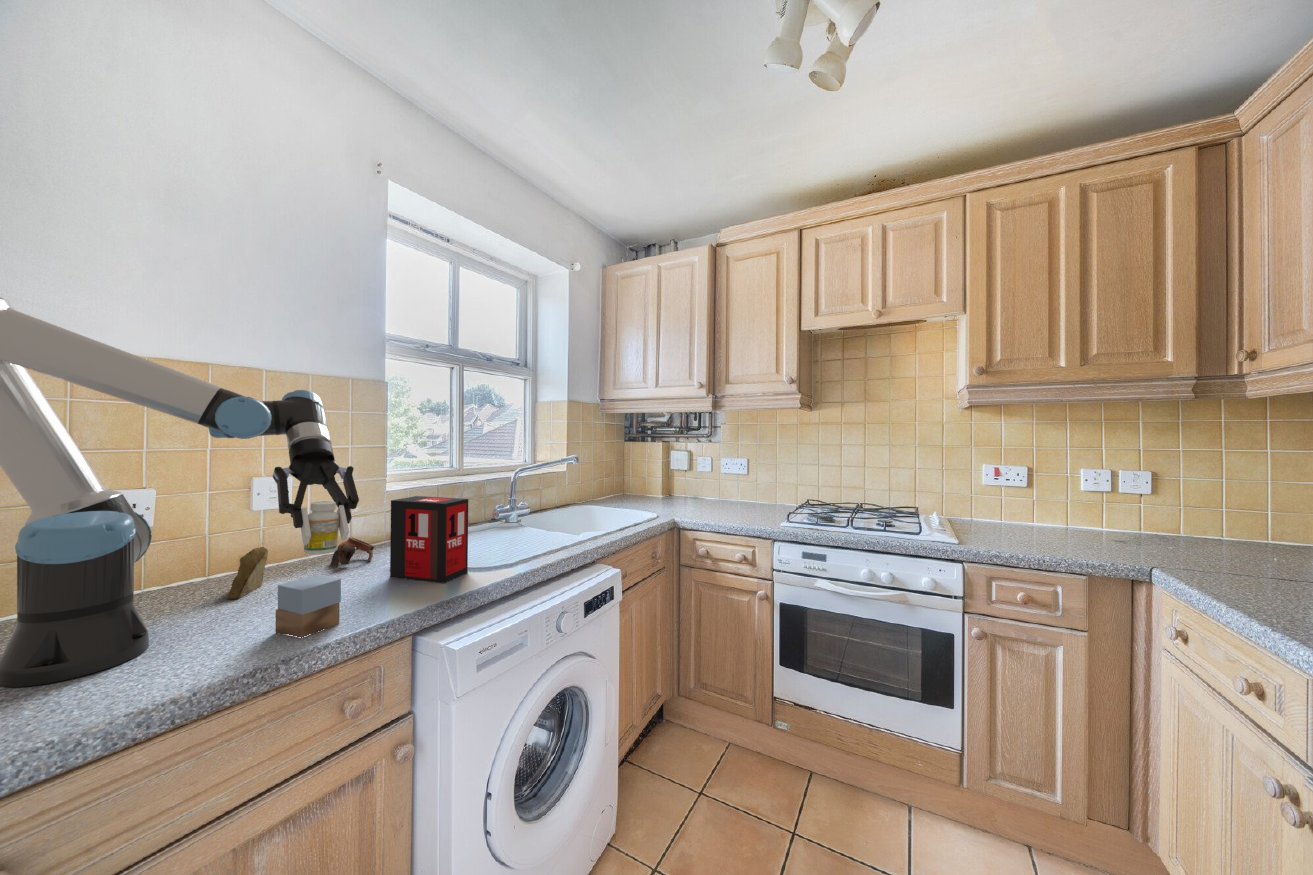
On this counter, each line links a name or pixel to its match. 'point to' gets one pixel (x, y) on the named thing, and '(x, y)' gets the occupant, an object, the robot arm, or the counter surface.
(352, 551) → the pottery mug
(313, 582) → the slate-blue block
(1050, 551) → the counter surface
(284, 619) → the walnut block
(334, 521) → the supplement bottle
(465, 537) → the cleaning product box
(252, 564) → the rock
